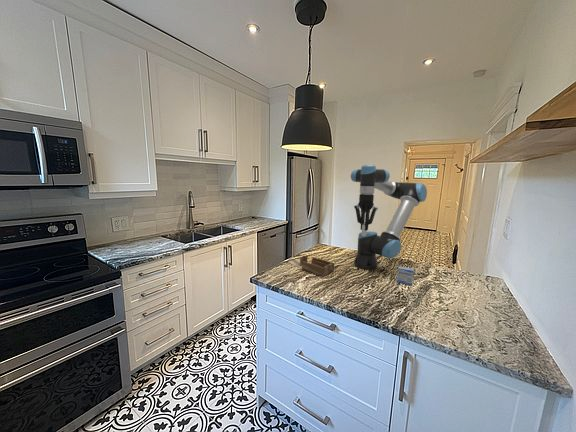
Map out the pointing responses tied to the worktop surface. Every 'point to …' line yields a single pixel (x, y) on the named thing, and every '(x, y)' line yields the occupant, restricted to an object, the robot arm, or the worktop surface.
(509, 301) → the worktop surface
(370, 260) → the robot arm
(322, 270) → the walnut box
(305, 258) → the cover plate
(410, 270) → the medicine box
